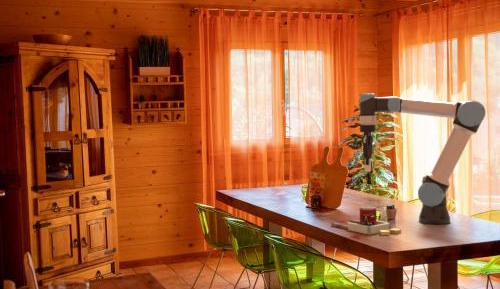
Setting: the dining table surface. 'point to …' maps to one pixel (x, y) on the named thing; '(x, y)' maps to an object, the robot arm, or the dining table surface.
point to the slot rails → (345, 225)
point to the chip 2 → (395, 231)
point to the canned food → (368, 215)
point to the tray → (369, 227)
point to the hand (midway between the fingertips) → (367, 171)
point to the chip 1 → (384, 232)
